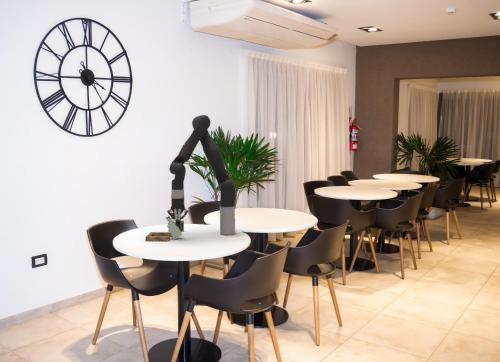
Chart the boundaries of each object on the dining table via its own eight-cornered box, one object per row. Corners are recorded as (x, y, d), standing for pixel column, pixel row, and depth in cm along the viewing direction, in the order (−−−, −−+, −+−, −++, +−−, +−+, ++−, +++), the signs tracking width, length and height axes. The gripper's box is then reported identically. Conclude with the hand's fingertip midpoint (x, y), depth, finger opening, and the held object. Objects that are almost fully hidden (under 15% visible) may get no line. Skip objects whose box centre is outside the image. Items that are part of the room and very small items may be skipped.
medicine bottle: (175, 233, 294) (175, 214, 292) (168, 231, 298) (167, 212, 297) (184, 231, 299) (183, 212, 298) (176, 229, 304) (175, 211, 302)
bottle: (182, 234, 281) (171, 214, 279) (180, 236, 276) (170, 215, 275) (175, 237, 281) (164, 217, 280) (173, 239, 276) (163, 219, 275)
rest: (173, 236, 285) (173, 232, 285) (169, 241, 272) (169, 237, 272) (150, 236, 286) (150, 232, 285) (145, 241, 273) (145, 237, 272)
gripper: (190, 196, 279) (190, 224, 281) (167, 195, 280) (168, 224, 282) (188, 198, 272) (188, 227, 274) (165, 197, 272) (165, 227, 274)
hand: (178, 226), depth 278 cm, fingers closed
